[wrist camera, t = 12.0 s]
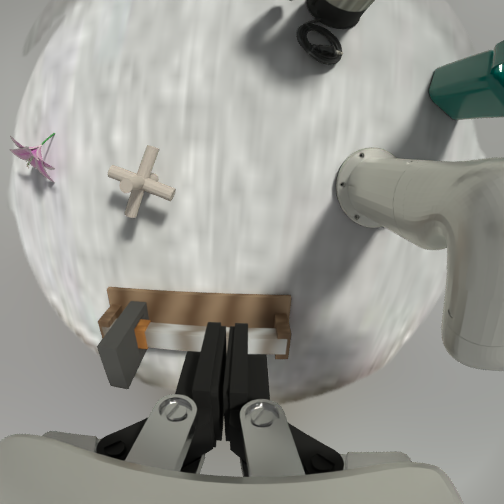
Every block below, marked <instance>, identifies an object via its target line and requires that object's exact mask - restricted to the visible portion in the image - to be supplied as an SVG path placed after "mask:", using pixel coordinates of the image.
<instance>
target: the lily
mask: <svg viewBox="0 0 504 504" xmlns="http://www.w3.org/2000/svg"><path fill="white" fill-rule="evenodd" d="M54 134H55V133H53V134H52V135H51V136H49V137H48V138H47V139H46V140H45V141H44V142H43V143H42V144H41V145H40V146H37V147H24V146H22V145H21V144H19V143H18V142H17V141H16V140H14V139H13V138H12V137H11V136H10V137H11V139H12V141H13V142H14V143H15V145H16V146H17V147H19V149H13V150H12V149H10V151H11V152H12V153H14V154H15V155H16V156H17V157H19V158H20V159H23V160H27V161H28V163H27V164H28V165H30V164H31V165H32V166H33V167H34V168H37V169H38V170H39V172H40V173H41V174H42V175H43V176H45V177H46V178H48V179H49V180H51V181H52V182H54V181H53V180H52V179H51V178H50V177H49V176H48V174H47V172H46V170H45V168H44V166H45V167H46V168H48V169H55V168H53V167H52V166H50V165H48V164H47V163H45V162H44V161H43V160H42V155H41V146H42V145H43V144H44V143H45V142H46V141H47V140H48V139H49V138H50V137H52V136H53V135H54ZM42 161H43V162H42ZM29 163H30V164H29ZM43 164H44V165H43ZM28 165H27V167H28ZM28 168H29V167H28Z"/></svg>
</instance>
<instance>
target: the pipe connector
mask: <svg viewBox="0 0 504 504" xmlns="http://www.w3.org/2000/svg"><path fill="white" fill-rule="evenodd" d="M158 152H159V149H158V148H155V147H152V146H148V145H147V148H146V150H145V153H144V156H143V158H142V161H141V164H140V167H139V170H138V173H137V174H136V173H133V172H131V171H128V170H125V169H123V168H120V167H117V166H115V165H112V166H111V167H110V169H109V171H108V177H110V178H113V179H115V180H118V181H120V189H121V191H122V192H124V193H129V192H131V194H130V197H129V201H128V204H127V207H126V211H125V215H126V216H128V217H130V218H136V216H137V213H138V210H139V207H140V203H141V200H142V197H143V194H144V191H146V192H148V193H151V194H154V195H156V196H159V197H161V198H164V199H166V200H169V201H171V200H172V199H173V197H174V194H175V191H176V189H175V188H172V187H170V186H167V185H165V184H162V183H159V182H158V176H157V175H156V174H154V173H152V174H151V171H152V168H153V165H154V163H155V160H156V157H157V155H158Z"/></svg>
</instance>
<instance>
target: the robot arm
mask: <svg viewBox="0 0 504 504" xmlns="http://www.w3.org/2000/svg"><path fill="white" fill-rule="evenodd" d="M359 154H361V157H359ZM341 183H343V185H342V186H341V185H340V184H341ZM336 191H337V197H338V201H339V203H340V206H341V208H342V209H343V211H344V212H345V214H346V215H347V216H348V217H349V218H350V219H351V220H353V221H354V222H356V223H358V224H359V225H361V226H365V227H370V228H376V227H382V226H383V227H385V228H387V229H389V230H390V231H392V232H394V233H396V234H397V235H399V236H401V237H402V238H404V239H406V240H408V241H409V242H411V243H413V244H415V245H416V246H418V247H421V248H423V249H427V250H441V249H445V248H447V278H446V289H445V299H444V307H443V316H442V325H441V333H442V340H443V344H444V346H445V348H446V350H447V352H448V353H449V354H450V355H451V356H452V357H453V358H454V359H455V360H457V361H458V362H460V363H462V364H464V365H466V366H469V367H472V368H476V369H482V370H492V371H504V158H486V159H478V160H470V161H456V162H452V161H431V160H413V159H397V158H396V157H395V156H394V155H392V154H391V153H390V152H388V151H386V150H383V149H379V148H365V149H361V150H358V151H356V152H354V153H353V154H352V155H350V156H349V157H348V158H347V159H346V160H345V162H344V163H343V164H342V166H341V168H340V170H339V173H338V177H337V183H336ZM355 215H356V217H355V218H354V216H355ZM223 419H225V435H226V441H230V450H231V451H233V452H234V453H235V454H236V455H237V456H239V457H240V463H241V469H242V475H243V477H229V476H213V475H203V474H200V471H201V468H202V465H203V462H204V459H205V453H207V452H209V451H210V450H212V449H213V447H216V440H220V441H221V440H222V431H223ZM0 504H463V501H462V499H461V497H460V495H459V493H458V491H457V490H456V487H455V486H454V484H453V483H452V481H451V480H450V478H449V477H448V476H447V474H446V473H445V472H444V471H443V470H441V469H440V468H438V467H436V466H434V465H430V464H425V463H416V462H412V461H411V459H410V458H409V457H408V456H407V454H404V453H402V452H348V453H347V454H339V453H338V452H336V451H335V450H333V449H332V448H330V447H328V446H326V445H324V444H323V443H321V442H319V441H317V440H316V439H314V438H312V437H310V436H309V435H307V434H305V433H303V432H302V431H300V430H299V429H297V428H296V427H294V426H292V425H291V424H289V423H288V422H287V419H286V416H285V413H284V411H283V409H282V407H281V406H280V405H278V404H277V403H275V402H273V401H271V400H270V395H269V382H268V369H267V357H266V354H248V323H235V326H230V330H229V339H228V348H226V326H221V322H208V323H207V327H206V331H205V335H204V339H203V344H202V348H201V352H197V351H188V352H187V354H186V358H185V361H184V365H183V368H182V372H181V375H180V379H179V382H178V386H177V389H176V393H175V394H174V395H168V396H165V397H163V398H161V399H160V400H159V401H158V402H157V403H156V405H155V407H154V408H153V410H152V412H151V414H150V416H149V417H148V418H146V419H144V420H142V421H140V422H137V423H135V424H133V425H131V426H129V427H126V428H124V429H122V430H119V431H117V432H114V433H112V434H110V435H107V436H106V437H104V438H102V439H97V437H96V436H88V435H79V434H71V433H64V432H57V431H49V432H47V433H45V434H44V435H43V436H38V435H30V434H15V435H10V436H7V437H5V438H4V439H2V440H1V441H0Z"/></svg>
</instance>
